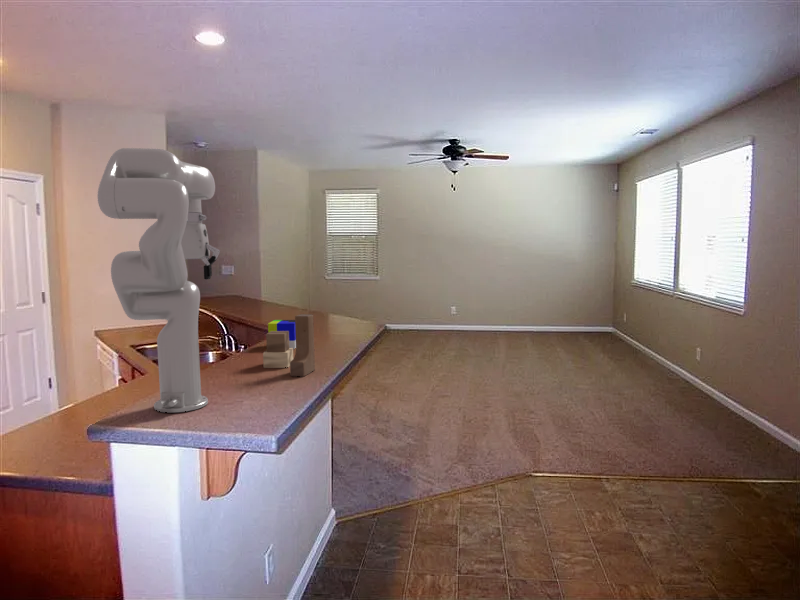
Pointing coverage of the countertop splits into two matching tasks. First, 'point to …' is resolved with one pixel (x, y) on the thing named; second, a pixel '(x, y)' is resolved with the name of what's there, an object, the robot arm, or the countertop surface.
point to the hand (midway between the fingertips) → (191, 279)
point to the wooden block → (303, 346)
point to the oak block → (277, 359)
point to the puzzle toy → (284, 329)
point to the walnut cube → (277, 341)
